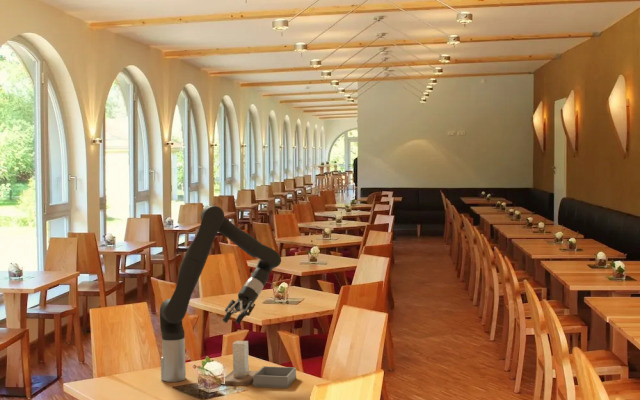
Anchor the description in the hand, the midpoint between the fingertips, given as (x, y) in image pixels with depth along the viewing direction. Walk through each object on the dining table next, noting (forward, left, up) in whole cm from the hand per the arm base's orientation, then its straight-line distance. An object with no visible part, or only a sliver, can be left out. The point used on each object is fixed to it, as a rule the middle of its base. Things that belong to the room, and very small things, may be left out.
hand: (230, 322), depth 314 cm
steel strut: (+3, +2, -23) cm, 23 cm away
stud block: (+3, +2, -24) cm, 24 cm away
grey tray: (+18, 0, -24) cm, 30 cm away
